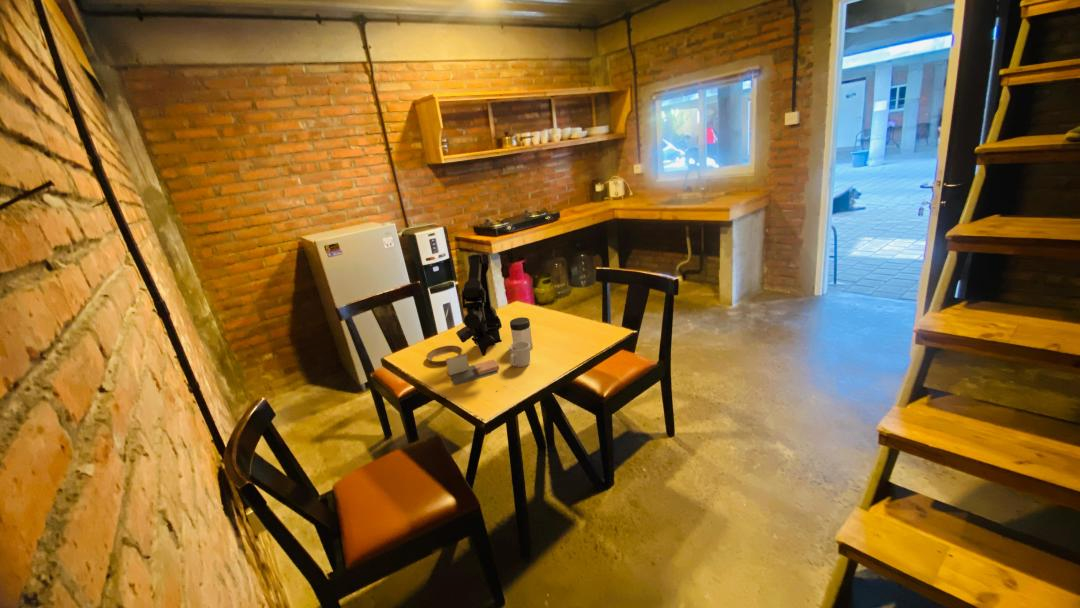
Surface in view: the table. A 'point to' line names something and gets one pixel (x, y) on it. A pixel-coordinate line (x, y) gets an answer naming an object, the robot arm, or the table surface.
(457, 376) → the mat
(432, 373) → the table surface
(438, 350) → the brown ring
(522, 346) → the cup
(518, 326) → the jar
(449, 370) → the tile
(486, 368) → the tile
